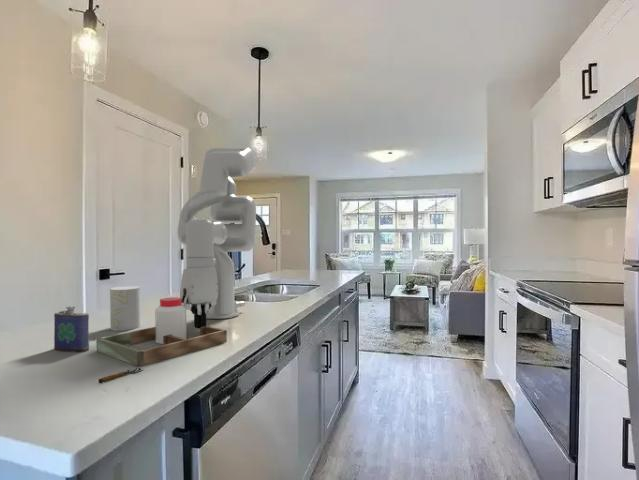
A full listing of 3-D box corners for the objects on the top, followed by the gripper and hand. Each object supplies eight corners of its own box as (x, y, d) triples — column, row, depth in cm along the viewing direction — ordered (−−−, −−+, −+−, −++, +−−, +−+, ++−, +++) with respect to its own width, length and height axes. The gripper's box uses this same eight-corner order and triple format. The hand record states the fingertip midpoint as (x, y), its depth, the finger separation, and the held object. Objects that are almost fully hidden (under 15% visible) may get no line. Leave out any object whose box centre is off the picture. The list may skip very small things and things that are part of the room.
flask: (91, 349, 98) (90, 305, 97) (82, 352, 95) (81, 308, 95) (60, 347, 100) (59, 304, 99) (49, 350, 97) (49, 306, 97)
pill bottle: (156, 338, 108) (155, 297, 108) (186, 335, 111) (185, 296, 111) (155, 345, 101) (154, 302, 101) (187, 342, 104) (186, 300, 103)
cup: (104, 328, 119) (104, 288, 119) (128, 323, 126) (128, 285, 126) (122, 331, 115) (121, 290, 115) (146, 326, 122) (145, 287, 122)
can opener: (100, 385, 75) (100, 379, 75) (95, 382, 77) (95, 376, 77) (146, 372, 82) (146, 366, 82) (140, 369, 84) (140, 364, 84)
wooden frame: (182, 331, 115) (182, 320, 115) (226, 341, 104) (226, 330, 104) (96, 351, 96) (96, 338, 96) (139, 366, 85) (138, 352, 85)
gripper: (212, 262, 121) (212, 322, 121) (168, 264, 109) (169, 331, 109) (229, 262, 117) (229, 325, 117) (185, 265, 105) (185, 334, 105)
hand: (200, 327), depth 113 cm, fingers closed
